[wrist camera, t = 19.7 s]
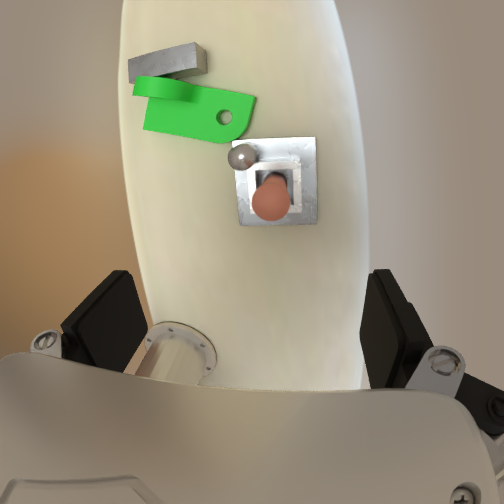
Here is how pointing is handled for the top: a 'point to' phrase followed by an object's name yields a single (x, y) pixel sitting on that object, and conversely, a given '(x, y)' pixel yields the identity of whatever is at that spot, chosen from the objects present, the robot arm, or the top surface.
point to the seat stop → (169, 63)
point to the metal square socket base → (281, 160)
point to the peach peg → (272, 197)
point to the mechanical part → (193, 109)
